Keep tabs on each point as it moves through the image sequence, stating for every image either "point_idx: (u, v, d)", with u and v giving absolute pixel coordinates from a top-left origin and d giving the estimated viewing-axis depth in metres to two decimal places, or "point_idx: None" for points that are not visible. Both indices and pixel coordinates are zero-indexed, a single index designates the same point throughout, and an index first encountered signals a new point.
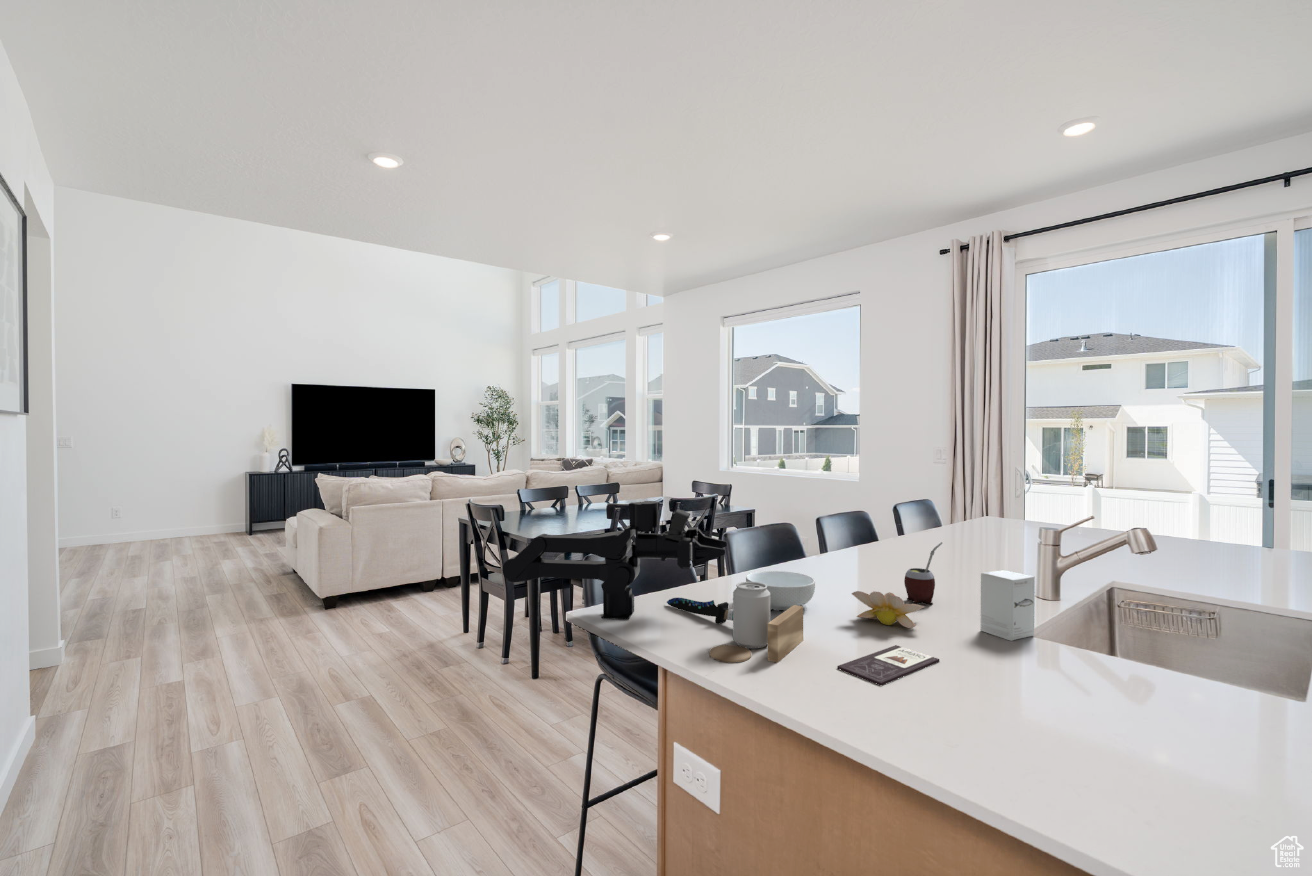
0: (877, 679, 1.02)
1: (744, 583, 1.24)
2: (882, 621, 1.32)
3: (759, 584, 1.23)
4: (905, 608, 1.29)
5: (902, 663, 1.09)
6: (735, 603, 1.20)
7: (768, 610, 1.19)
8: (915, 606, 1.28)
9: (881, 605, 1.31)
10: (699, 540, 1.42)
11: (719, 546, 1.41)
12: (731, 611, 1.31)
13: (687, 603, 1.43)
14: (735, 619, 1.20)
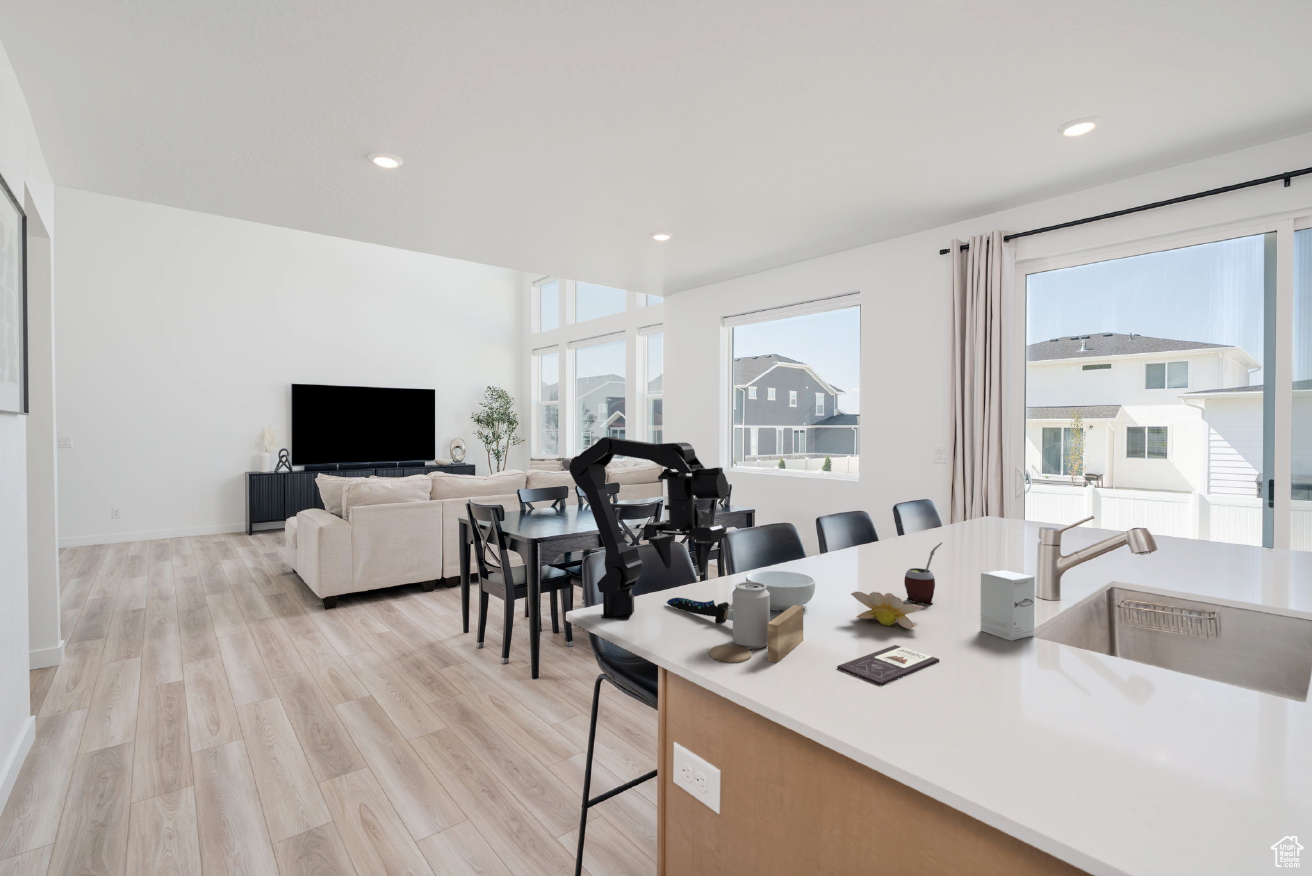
0: (877, 679, 1.02)
1: (743, 583, 1.24)
2: (881, 622, 1.31)
3: (758, 584, 1.23)
4: (904, 608, 1.29)
5: (902, 663, 1.09)
6: (734, 604, 1.20)
7: (768, 610, 1.19)
8: (914, 606, 1.28)
9: (880, 605, 1.31)
10: (666, 539, 1.35)
11: (667, 561, 1.34)
12: (731, 611, 1.31)
13: (687, 603, 1.43)
14: (735, 620, 1.20)
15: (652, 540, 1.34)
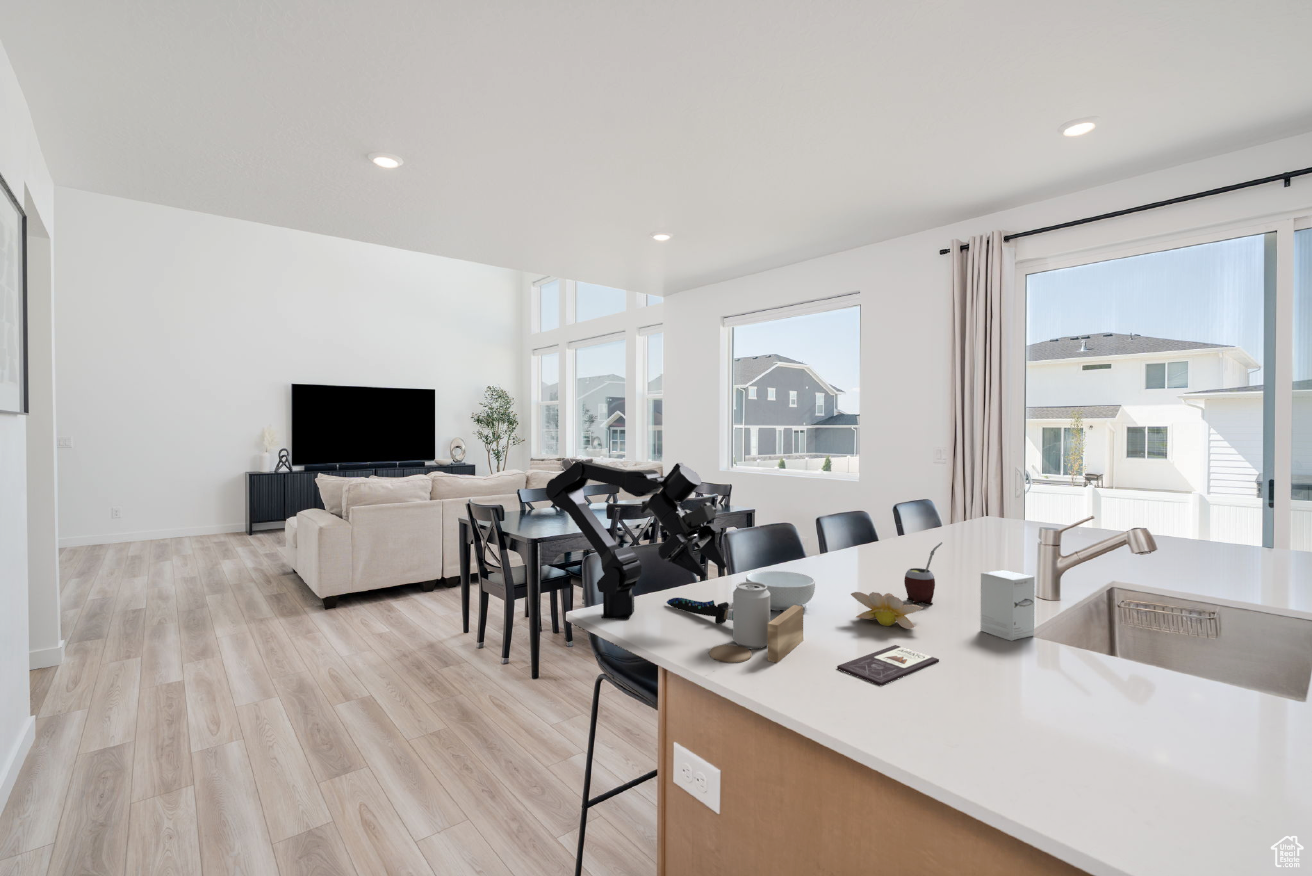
0: (877, 679, 1.02)
1: (744, 583, 1.24)
2: (881, 622, 1.31)
3: (759, 584, 1.23)
4: (904, 608, 1.29)
5: (902, 663, 1.09)
6: (735, 604, 1.20)
7: (768, 610, 1.19)
8: (914, 607, 1.28)
9: (880, 606, 1.30)
10: (709, 542, 1.33)
11: (718, 563, 1.31)
12: (731, 611, 1.31)
13: (687, 603, 1.43)
14: (735, 620, 1.20)
15: None
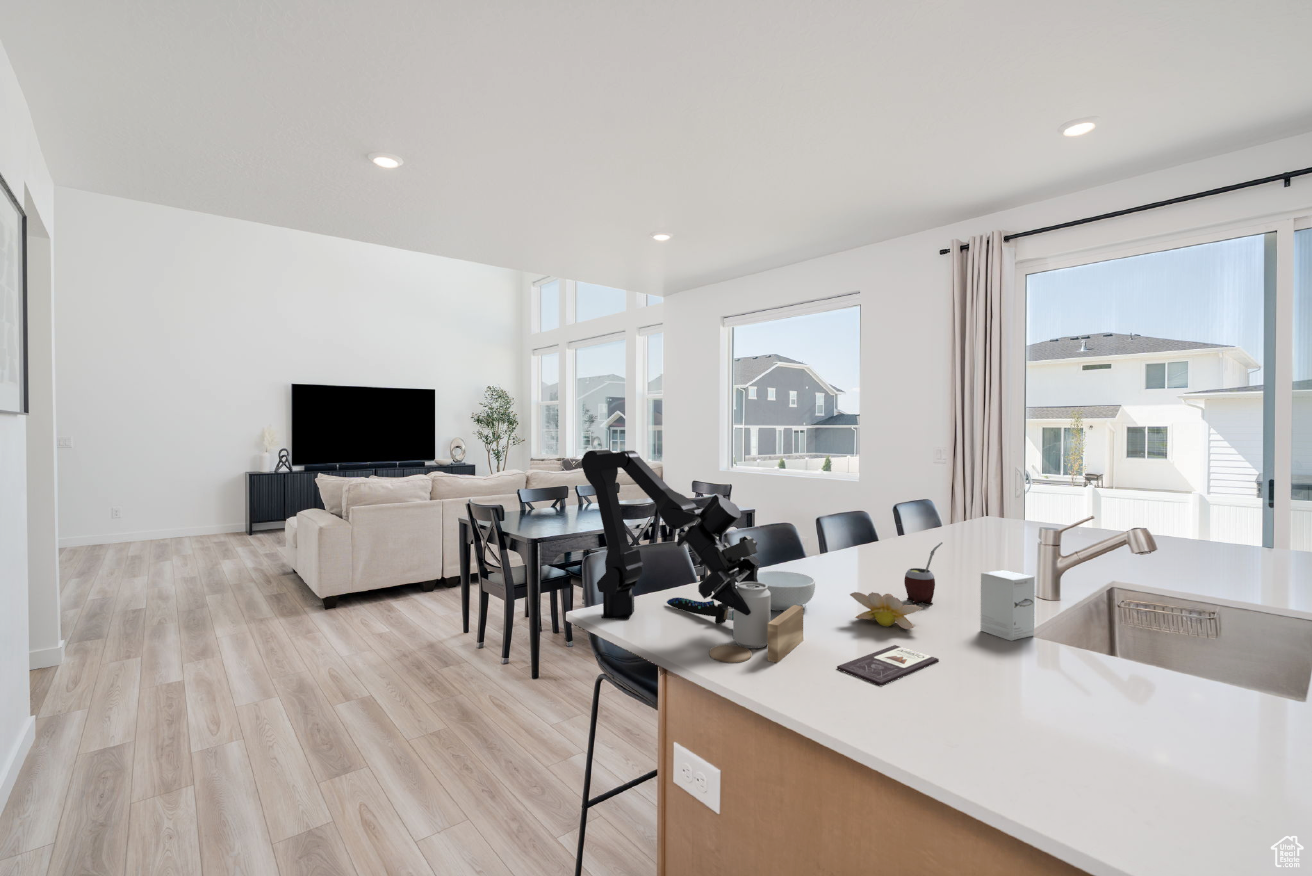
0: (877, 679, 1.02)
1: (744, 583, 1.24)
2: (880, 622, 1.31)
3: (759, 584, 1.23)
4: (903, 609, 1.28)
5: (902, 663, 1.09)
6: None
7: (769, 610, 1.19)
8: (913, 607, 1.27)
9: (879, 606, 1.30)
10: (747, 577, 1.27)
11: None
12: (731, 611, 1.31)
13: (687, 603, 1.43)
14: (736, 619, 1.20)
15: None
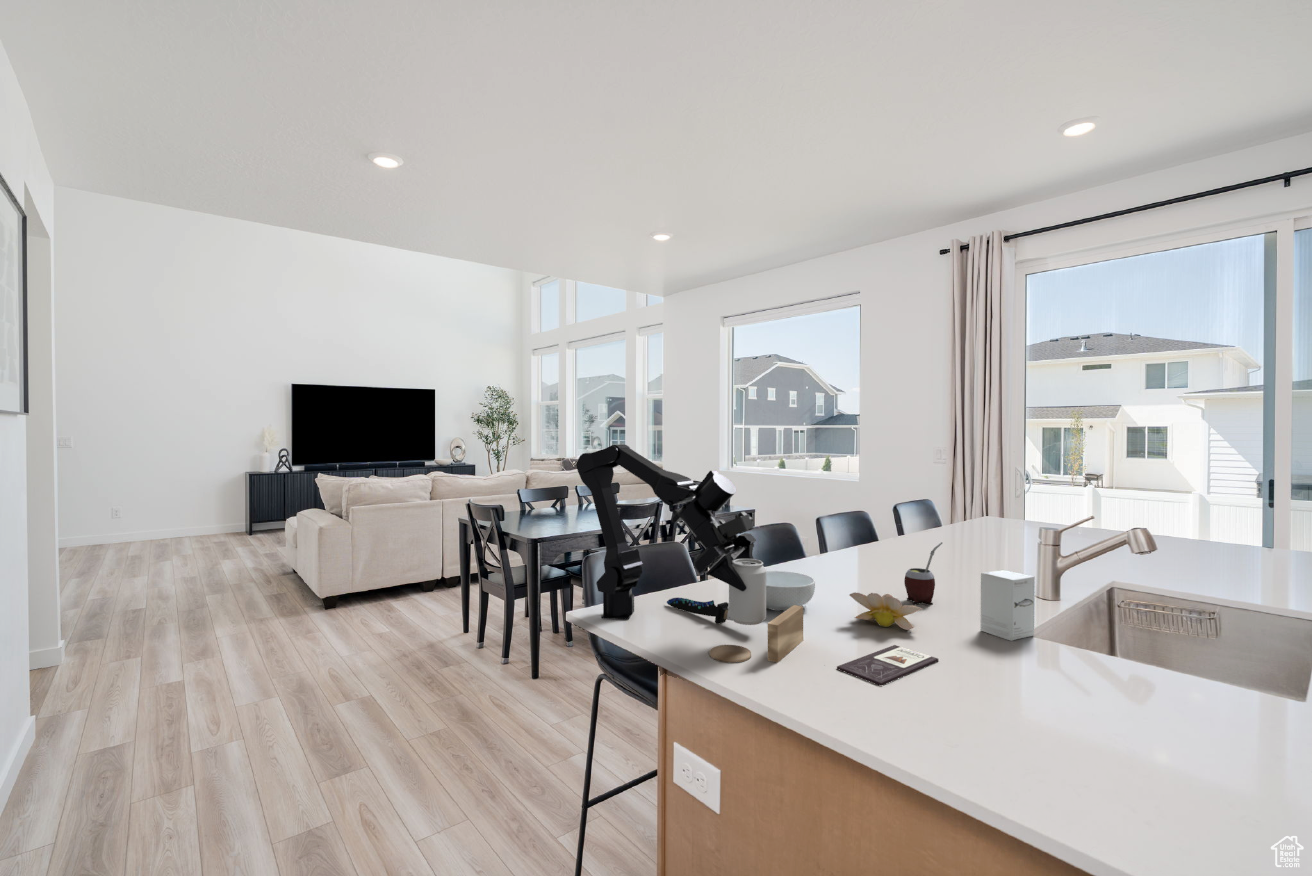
0: (877, 680, 1.02)
1: (739, 560, 1.23)
2: (880, 623, 1.31)
3: (755, 561, 1.22)
4: (902, 609, 1.28)
5: (902, 663, 1.09)
6: None
7: (764, 586, 1.18)
8: (913, 608, 1.27)
9: (879, 607, 1.30)
10: (742, 554, 1.26)
11: None
12: None
13: (687, 603, 1.43)
14: (731, 596, 1.19)
15: None
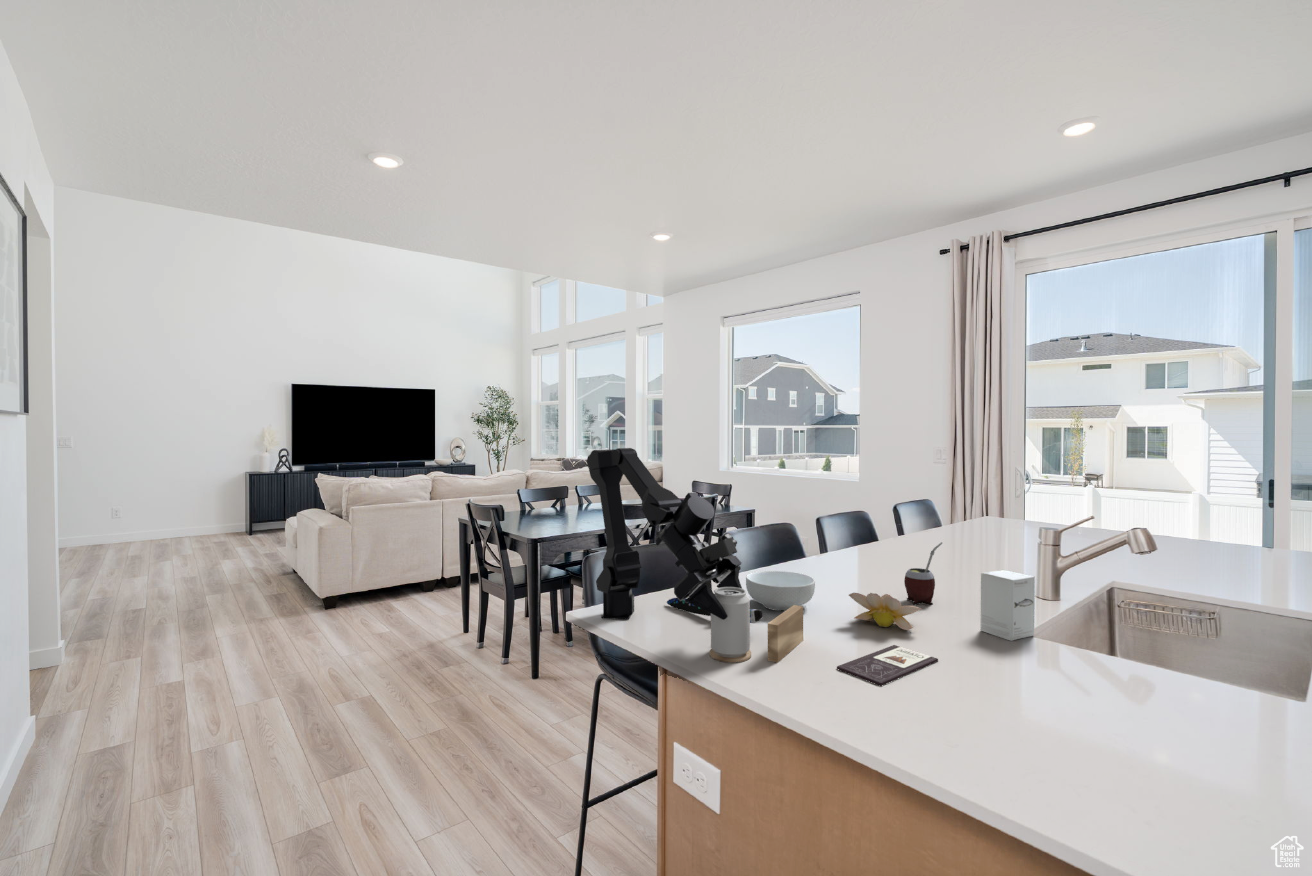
0: (877, 680, 1.02)
1: (722, 588, 1.18)
2: (879, 623, 1.30)
3: (738, 589, 1.17)
4: (902, 609, 1.28)
5: (901, 663, 1.09)
6: None
7: (747, 617, 1.13)
8: (912, 608, 1.27)
9: (878, 607, 1.30)
10: (728, 577, 1.21)
11: None
12: None
13: (687, 603, 1.43)
14: (713, 627, 1.14)
15: None
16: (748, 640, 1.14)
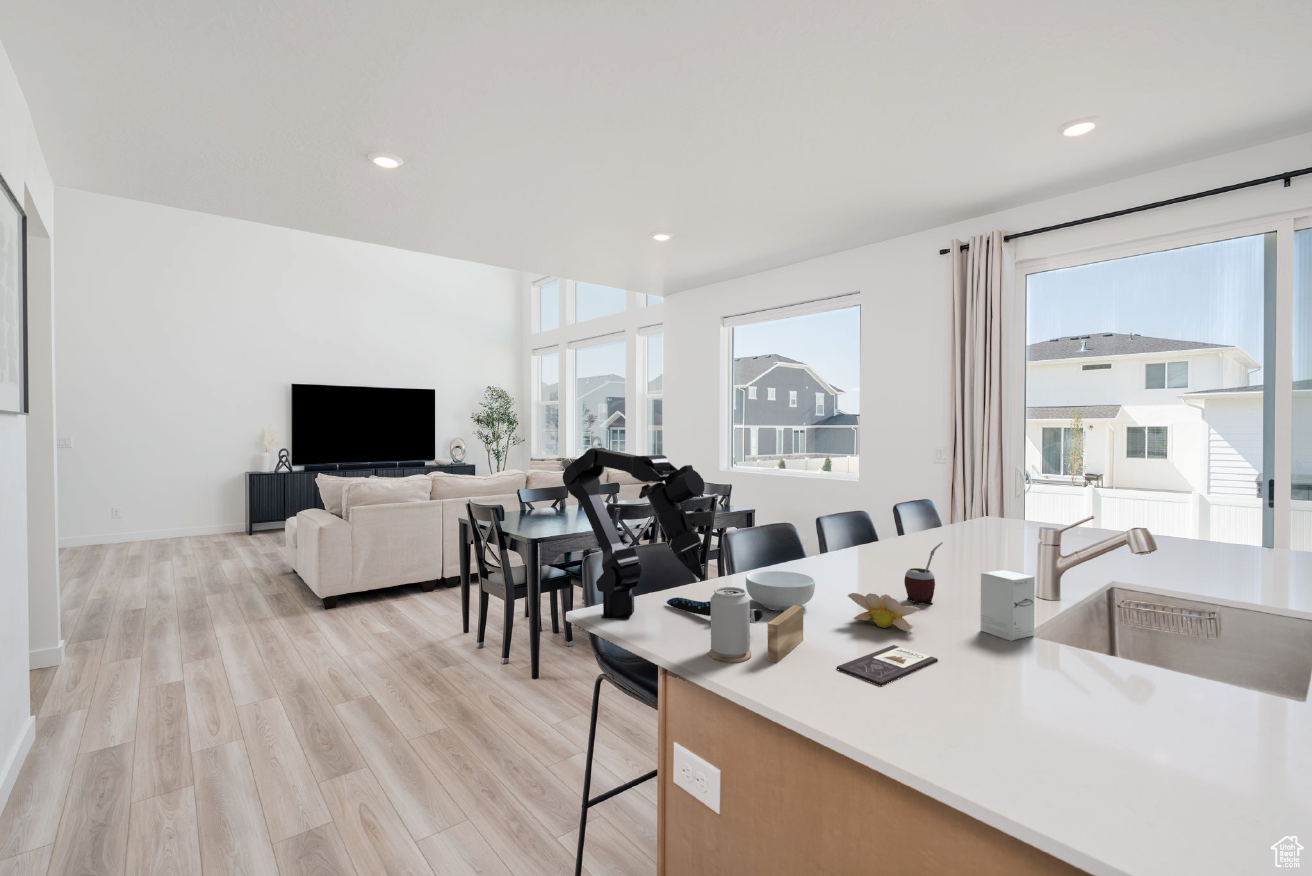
0: (877, 679, 1.02)
1: (722, 588, 1.18)
2: (878, 623, 1.30)
3: (738, 589, 1.17)
4: (901, 610, 1.27)
5: (901, 663, 1.09)
6: (713, 610, 1.14)
7: (747, 617, 1.13)
8: (911, 608, 1.26)
9: (877, 607, 1.29)
10: None
11: None
12: None
13: (687, 603, 1.43)
14: (713, 627, 1.14)
15: None
16: (748, 640, 1.14)
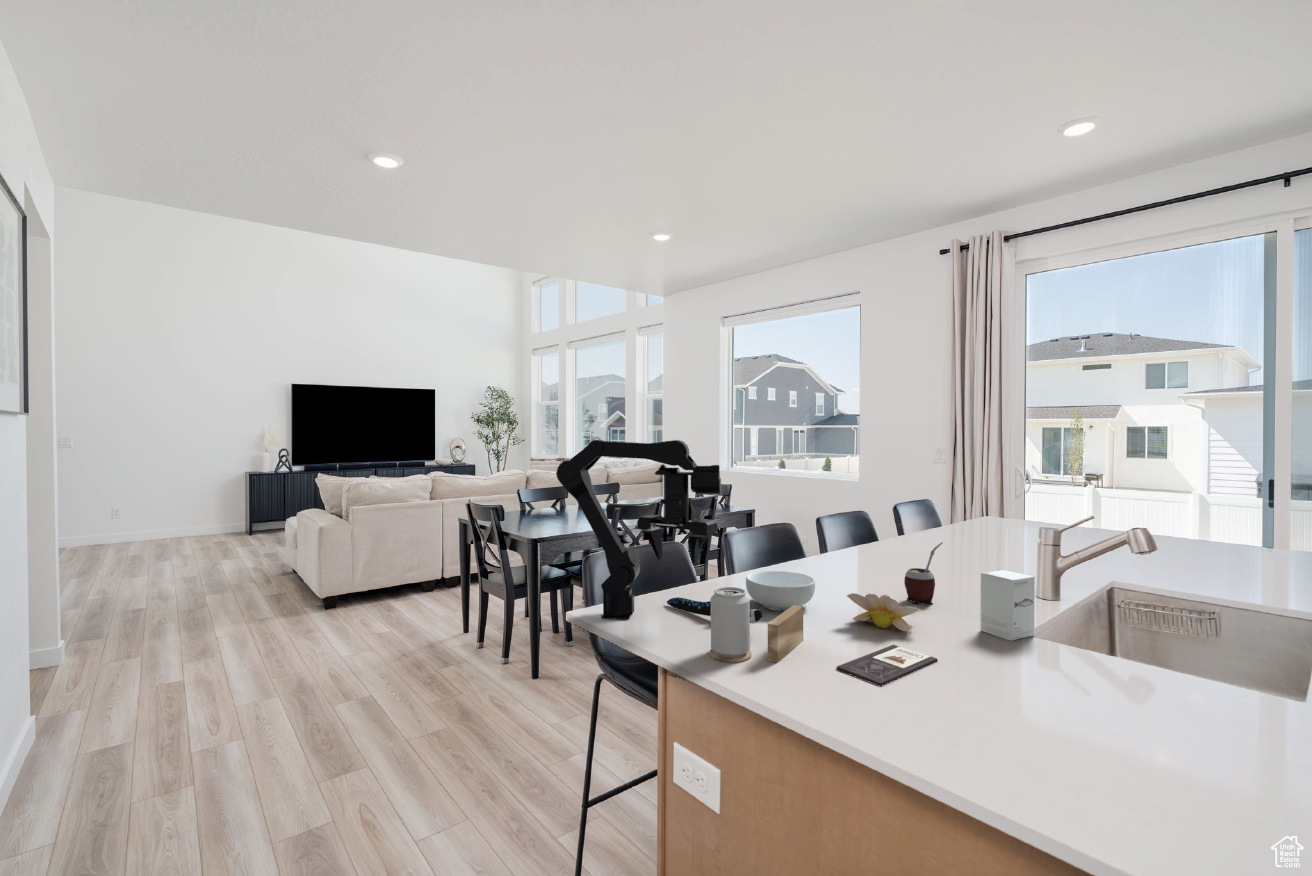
0: (877, 680, 1.02)
1: (722, 588, 1.18)
2: (877, 624, 1.30)
3: (738, 589, 1.17)
4: (900, 610, 1.27)
5: (901, 663, 1.09)
6: (713, 610, 1.14)
7: (747, 617, 1.13)
8: (911, 609, 1.26)
9: (876, 608, 1.29)
10: (659, 531, 1.41)
11: (659, 552, 1.40)
12: None
13: (687, 603, 1.43)
14: (713, 627, 1.14)
15: (646, 533, 1.39)
16: (748, 640, 1.14)
